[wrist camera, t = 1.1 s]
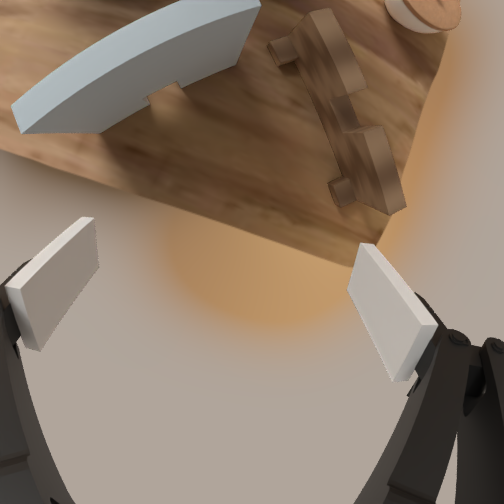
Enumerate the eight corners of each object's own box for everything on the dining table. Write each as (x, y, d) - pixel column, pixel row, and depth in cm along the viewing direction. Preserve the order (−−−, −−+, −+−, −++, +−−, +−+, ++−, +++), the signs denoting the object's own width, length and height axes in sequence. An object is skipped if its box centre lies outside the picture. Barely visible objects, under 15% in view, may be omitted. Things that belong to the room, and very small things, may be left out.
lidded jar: (368, -29, 28) (400, -55, 20) (426, -7, 30) (462, -23, 21) (372, 28, 32) (410, 9, 23) (432, 49, 33) (473, 39, 25)
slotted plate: (99, 133, 33) (21, 133, 16) (92, 116, 32) (10, 105, 15) (235, 64, 32) (261, 5, 15) (227, 47, 31) (245, -22, 15)
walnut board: (266, 45, 32) (287, 17, 22) (316, 31, 32) (349, 4, 22) (334, 204, 40) (371, 224, 31) (378, 183, 40) (422, 198, 30)
